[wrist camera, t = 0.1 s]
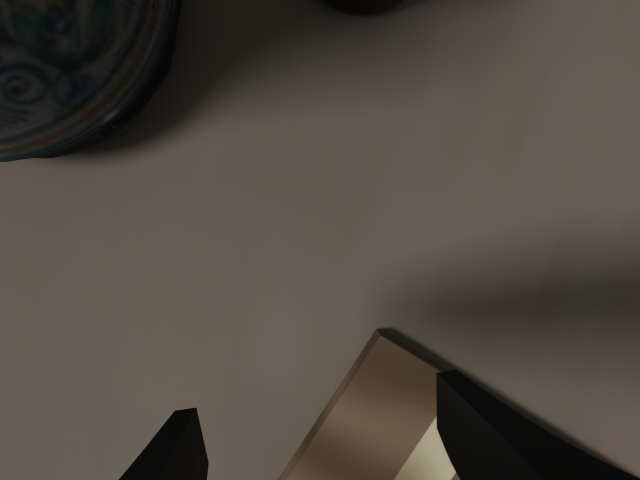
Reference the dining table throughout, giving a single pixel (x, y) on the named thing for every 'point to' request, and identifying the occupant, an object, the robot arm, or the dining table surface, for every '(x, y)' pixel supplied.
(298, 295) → the dining table surface
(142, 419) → the dining table surface
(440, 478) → the board
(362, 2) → the supplement bottle
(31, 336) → the dining table surface
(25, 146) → the beer stein
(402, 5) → the dining table surface
